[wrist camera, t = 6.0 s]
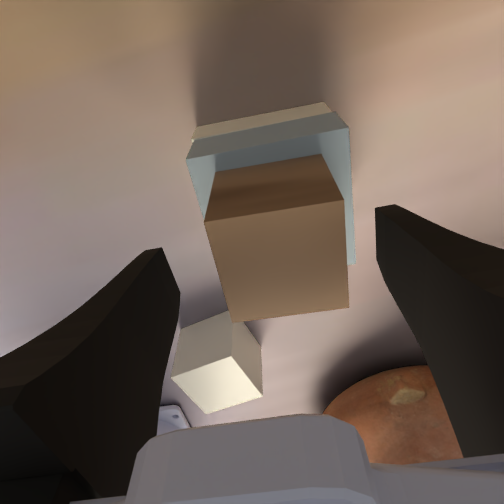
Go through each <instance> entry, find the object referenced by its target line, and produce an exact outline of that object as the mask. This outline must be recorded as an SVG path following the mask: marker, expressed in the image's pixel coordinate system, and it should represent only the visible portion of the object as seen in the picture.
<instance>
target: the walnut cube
mask: <svg viewBox="0 0 504 504" xmlns="http://www.w3.org/2000/svg"><path fill="white" fill-rule="evenodd" d="M204 225H205V229H206V232H207V236H208V239H209V243H210V246H211V250H212V253H213V257H214V260H215V264H216V268H217V271H218V275H219V278H220V282H221V285H222V289H223V292H224V296H225V299H226V303H227V307H228V310H229V314H230V317H231V321H232V323H236V322H244V321H251V320H259V319H267V318H274V317H282V316H289V315H297V314H305V313H312V312H320V311H328V310H335V309H343V308H349V293H348V271H347V249H346V227H345V205H344V198H343V196H342V194H341V192H340V190H339V188H338V186H337V184H336V182H335V180H334V178H333V176H332V174H331V172H330V170H329V168H328V166H327V164H326V162H325V160H324V158H323V156H322V154H316V155H310V156H305V157H299V158H293V159H287V160H282V161H276V162H270V163H264V164H258V165H253V166H247V167H241V168H235V169H230V170H224V171H218V172H215V175H214V180H213V184H212V188H211V193H210V197H209V201H208V206H207V210H206V214H205V219H204Z"/></svg>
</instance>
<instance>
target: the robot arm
mask: <svg viewBox="0 0 504 504" xmlns="http://www.w3.org/2000/svg"><path fill="white" fill-rule="evenodd" d="M375 225H376V258H377V262H378V265H379V268H380V270H381V273H382V276H383V278H384V281H385V283H386V285H387V287H388V289H389V291H390V293H391V294H392V296H393V298H394V300H395V302H396V303H397V305H398V307H399V309H400V311H401V312H402V314H403V316H404V318H405V319H406V321H407V323H408V325H409V326H410V328H411V330H412V332H413V334H414V335H415V337H416V339H417V341H418V343H419V345H420V347H421V349H422V352H423V354H424V357H425V359H426V361H427V364H428V366H429V368H430V371H431V373H432V376H433V378H434V381H435V383H436V386H437V388H438V391H439V393H440V396H441V398H442V401H443V403H444V406H445V409H446V411H447V414H448V417H449V419H450V422H451V425H452V427H453V430H454V433H455V435H456V438H457V441H458V444H459V446H460V449H461V452H462V455H463V458H459V459H450V460H441V461H432V462H423V463H414V464H405V465H397V464H383V463H369V459H368V456H367V452H366V448H365V444H364V441H363V439H362V438H361V436H360V434H359V433H358V431H357V430H356V428H355V426H353V425H351V424H349V423H347V422H344V421H342V420H340V419H337V418H335V417H332V416H330V415H328V414H294V415H286V416H278V417H271V418H263V419H255V420H247V421H240V422H232V423H224V424H217V425H209V426H201V427H193V428H190V426H189V424H188V422H187V420H186V418H185V416H184V414H183V412H182V411H181V409H180V407H179V406H177V405H169V406H162V407H160V401H161V393H162V385H163V380H164V375H165V371H166V367H167V363H168V358H169V354H170V350H171V346H172V342H173V338H174V334H175V330H176V326H177V321H178V316H179V306H180V291H179V288H178V286H177V283H176V281H175V278H174V276H173V273H172V271H171V269H170V266H169V264H168V261H167V259H166V256H165V254H164V251H163V249H162V247H161V248H156V249H150V250H145V251H144V252H142V253H141V254H140V255H139V256H137V257H136V258H135V259H134V260H133V261H132V262H131V263H130V264H128V265H127V266H126V267H125V268H124V269H123V270H122V271H121V272H120V273H119V274H118V275H117V276H116V277H114V278H113V279H112V280H111V281H110V282H109V283H108V284H107V285H106V286H105V287H103V288H102V289H101V290H100V291H99V292H98V293H96V294H95V295H94V296H93V297H92V298H91V299H89V300H88V301H87V302H86V303H85V304H83V305H82V306H81V307H80V308H78V309H77V310H76V311H74V312H73V313H72V314H70V315H69V316H67V317H66V318H65V319H63V320H62V321H61V322H59V323H58V324H56V325H55V326H53V327H52V328H50V329H48V330H47V331H45V332H44V333H42V334H40V335H39V336H37V337H36V338H34V339H32V340H31V341H29V342H28V343H26V344H24V345H23V346H21V347H19V348H17V349H15V350H14V351H12V352H10V353H8V354H6V355H4V356H2V357H0V504H504V249H500V248H497V247H494V246H491V245H488V244H484V243H481V242H478V241H476V240H473V239H470V238H468V237H465V236H463V235H460V234H458V233H455V232H453V231H450V230H448V229H446V228H444V227H441V226H439V225H437V224H435V223H433V222H431V221H429V220H427V219H424V218H422V217H420V216H418V215H416V214H414V213H412V212H410V211H408V210H406V209H404V208H402V207H400V206H398V205H395V204H393V205H388V206H382V207H377V208H375Z"/></svg>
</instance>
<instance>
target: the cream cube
mask: <svg viewBox="0 0 504 504" xmlns="http://www.w3.org/2000/svg"><path fill="white" fill-rule="evenodd" d="M170 378H171V379H172V380H173V381H174V382H175V383H176V384H177V385H178V386H179V387H180V388H181V389H182V390H183V391H184V392H185V393H186V394H187V395H188V396H189V397H190V398H191V400H192V401H193V402H194V403H195V404H196V405H197V406H198V407H199V408H200V409H201V410H202V411H203V412H204V413H205V414H209V413H212V412H215V411H218V410H221V409H224V408H227V407H231V406H234V405H237V404H240V403H243V402H246V401H249V400H253V399H256V398H259V397H262V396H263V389H262V361H261V346H260V345H259V343H258V342H257V341H256V339H255V338H254V336H253V335H252V333H251V332H250V331H249V329H248V328H247V326H246V325H245V324H244V322H236V323H232V321H231V317H230V314H229V310H228V311H226V312H223V313H220V314H218V315H215V316H213V317H210V318H208V319H205V320H202V321H200V322H197V323H195V324H192V325H190V326H187V327H185V328H182V329H181V331H180V336H179V340H178V345H177V350H176V354H175V359H174V364H173V368H172V373H171V377H170Z"/></svg>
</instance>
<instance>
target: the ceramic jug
mask: <svg viewBox="0 0 504 504" xmlns="http://www.w3.org/2000/svg"><path fill="white" fill-rule="evenodd" d="M323 414H328V415H330V416H332V417H335V418H337V419H340V420H342V421H344V422H347V423H349V424H351V425H353V426H355V428H356V430H357V431H358V433H359V434H360V436H361V438H362V439H363V441H364V444H365V448H366V452H367V456H368V459H369V463H383V464H397V465H405V464H414V463H423V462H432V461H441V460H450V459H459V458H463V455H462V452H461V449H460V446H459V444H458V441H457V438H456V435H455V433H454V430H453V427H452V425H451V422H450V419H449V417H448V414H447V411H446V409H445V406H444V403H443V401H442V398H441V396H440V393H439V391H438V388H437V386H436V383H435V381H434V378H433V376H432V373H431V371H430V368H429V366H428V365H420V366H408V367H402V368H397V369H392V370H387V371H384V372H381V373H378V374H375V375H372V376H370V377H367V378H365V379H363V380H361V381H359V382H357V383H355V384H354V385H352V386H351V387H349V388H348V389H346V390H345V391H343V392H342V393H341V394H339V395H338V396H337V397H336V398H335V399H334V400H333V401H332V402H331V403H330V404H329V405H328V406H327V408H326V409H325V411H324V412H323Z"/></svg>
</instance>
